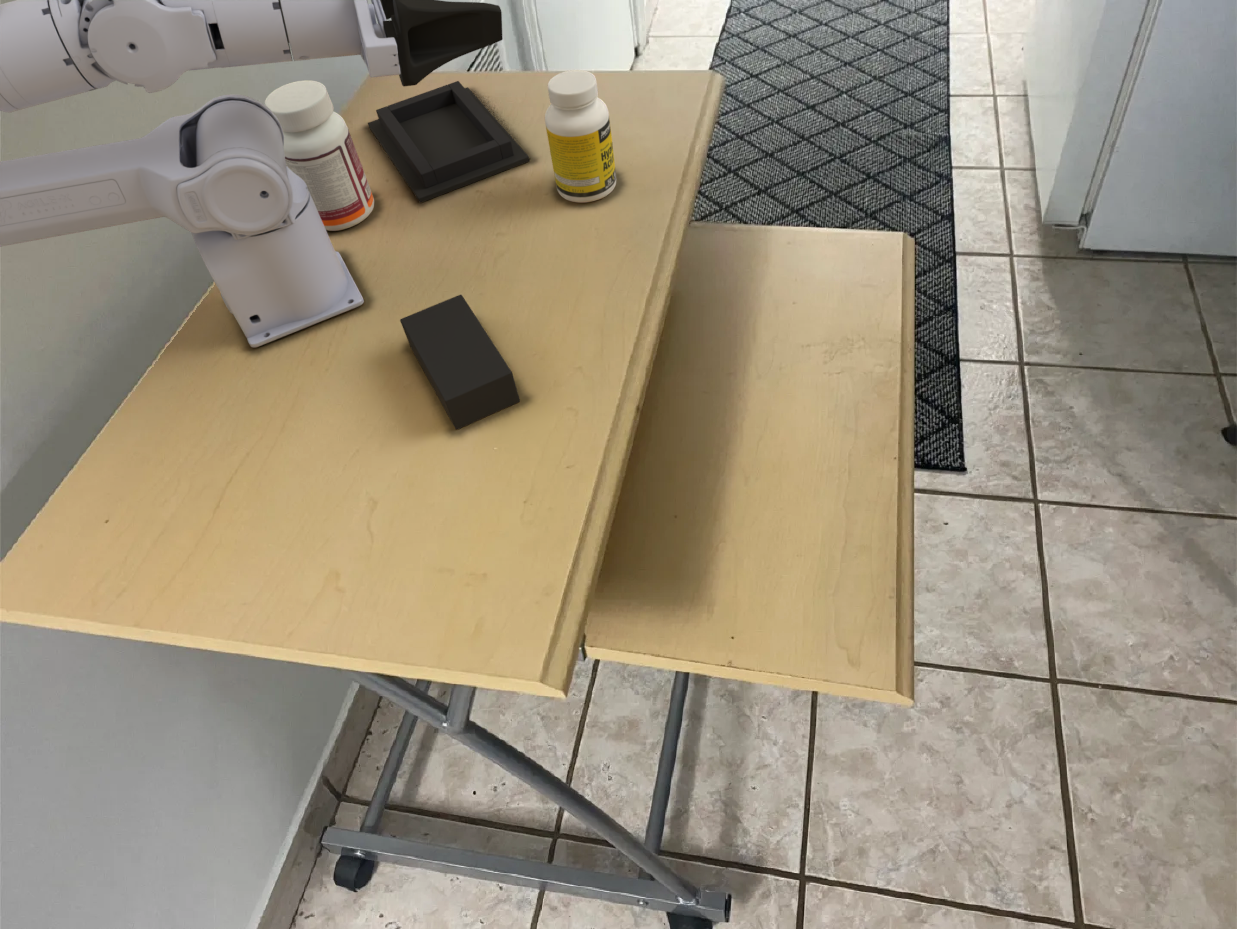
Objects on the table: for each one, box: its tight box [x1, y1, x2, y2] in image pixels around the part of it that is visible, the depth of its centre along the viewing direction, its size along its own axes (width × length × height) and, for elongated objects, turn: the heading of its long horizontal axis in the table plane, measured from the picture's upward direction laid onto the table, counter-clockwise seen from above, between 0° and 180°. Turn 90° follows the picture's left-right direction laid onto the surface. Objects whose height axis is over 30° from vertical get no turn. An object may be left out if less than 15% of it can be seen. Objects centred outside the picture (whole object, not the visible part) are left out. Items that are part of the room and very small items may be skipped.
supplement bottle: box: [544, 69, 617, 204], centre depth 77 cm, size 5×5×10 cm
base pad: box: [367, 80, 531, 204], centre depth 87 cm, size 16×11×2 cm
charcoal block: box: [399, 294, 521, 431], centre depth 66 cm, size 10×5×3 cm, turn 27°
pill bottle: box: [264, 79, 375, 232], centre depth 78 cm, size 6×6×11 cm
